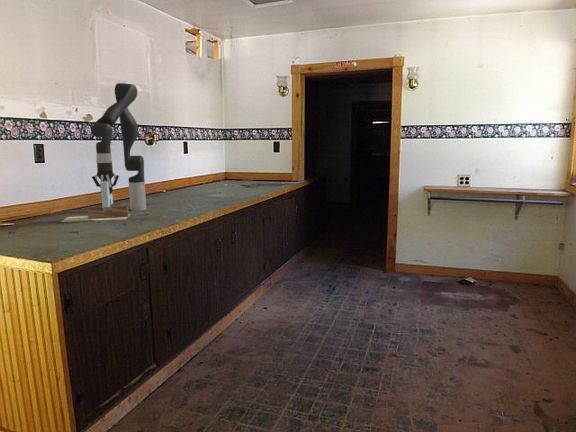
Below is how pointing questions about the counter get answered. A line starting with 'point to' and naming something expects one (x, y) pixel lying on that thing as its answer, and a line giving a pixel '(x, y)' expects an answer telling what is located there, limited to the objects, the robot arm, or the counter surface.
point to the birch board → (85, 218)
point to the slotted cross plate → (106, 194)
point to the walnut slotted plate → (100, 213)
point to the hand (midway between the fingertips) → (106, 194)
